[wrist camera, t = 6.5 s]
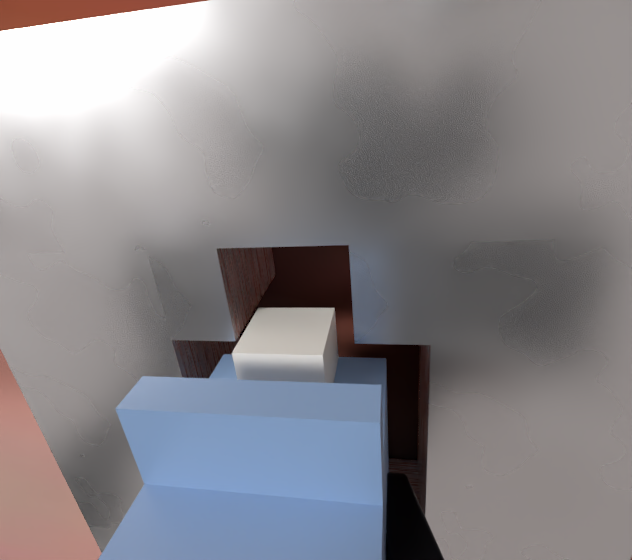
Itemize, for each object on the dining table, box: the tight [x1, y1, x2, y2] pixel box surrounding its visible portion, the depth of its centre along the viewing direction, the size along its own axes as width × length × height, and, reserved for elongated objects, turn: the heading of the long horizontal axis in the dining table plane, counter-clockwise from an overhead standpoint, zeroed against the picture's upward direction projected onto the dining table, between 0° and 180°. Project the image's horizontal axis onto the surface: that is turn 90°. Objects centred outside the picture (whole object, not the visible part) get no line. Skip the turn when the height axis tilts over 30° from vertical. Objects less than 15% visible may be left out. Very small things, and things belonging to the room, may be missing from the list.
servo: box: [98, 308, 389, 560], centre depth 8 cm, size 8×4×5 cm, turn 5°
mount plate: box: [0, 0, 632, 560], centre depth 11 cm, size 18×14×3 cm
